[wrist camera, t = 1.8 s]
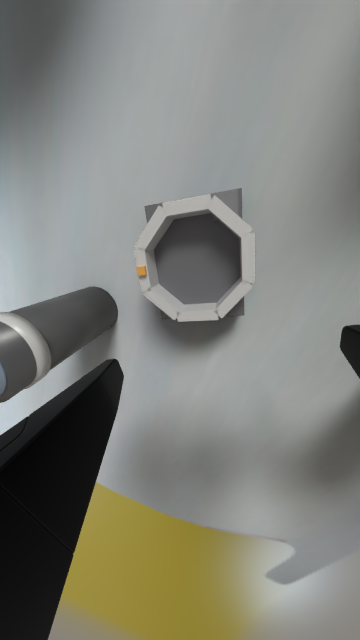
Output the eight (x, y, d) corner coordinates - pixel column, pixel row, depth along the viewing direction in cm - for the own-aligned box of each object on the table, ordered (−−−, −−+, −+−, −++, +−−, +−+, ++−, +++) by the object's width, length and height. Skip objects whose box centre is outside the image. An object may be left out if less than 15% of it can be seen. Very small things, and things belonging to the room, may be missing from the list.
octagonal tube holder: (248, 304, 19) (255, 325, 15) (165, 309, 21) (146, 328, 17) (247, 196, 17) (254, 176, 12) (150, 212, 18) (123, 202, 14)
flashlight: (123, 330, 23) (27, 409, 12) (83, 331, 25) (-37, 404, 13) (113, 283, 22) (-10, 325, 11) (70, 287, 23) (-80, 328, 12)
